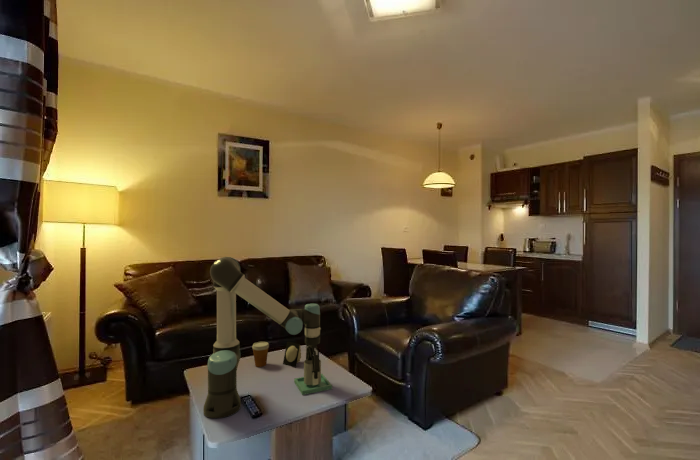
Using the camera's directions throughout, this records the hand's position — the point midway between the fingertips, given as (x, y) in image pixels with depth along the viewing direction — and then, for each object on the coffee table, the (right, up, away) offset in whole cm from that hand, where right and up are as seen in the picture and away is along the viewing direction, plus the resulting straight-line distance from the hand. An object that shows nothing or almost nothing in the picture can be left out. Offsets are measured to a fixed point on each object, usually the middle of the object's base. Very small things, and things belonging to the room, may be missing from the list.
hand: (312, 380), depth 168 cm
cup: (0, -1, 0) cm, 1 cm away
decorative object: (-14, -3, +28) cm, 32 cm away
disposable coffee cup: (-33, -3, +26) cm, 42 cm away
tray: (0, -2, 0) cm, 2 cm away
